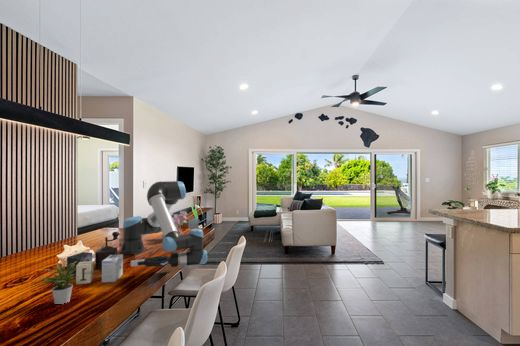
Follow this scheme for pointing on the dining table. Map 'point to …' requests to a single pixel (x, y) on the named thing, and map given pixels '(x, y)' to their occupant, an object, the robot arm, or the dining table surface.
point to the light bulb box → (112, 268)
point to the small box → (78, 260)
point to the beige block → (84, 272)
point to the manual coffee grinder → (105, 252)
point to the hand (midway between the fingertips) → (130, 263)
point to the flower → (177, 220)
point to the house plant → (61, 284)
